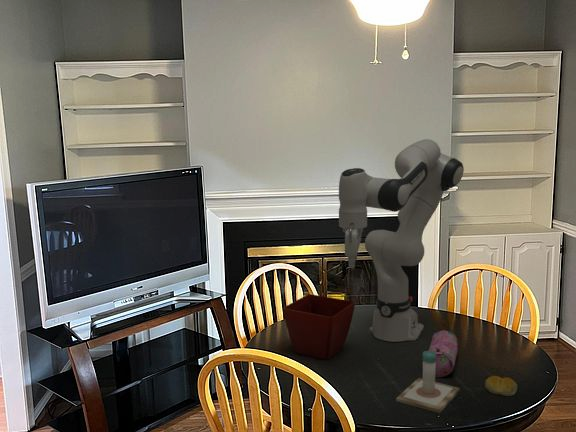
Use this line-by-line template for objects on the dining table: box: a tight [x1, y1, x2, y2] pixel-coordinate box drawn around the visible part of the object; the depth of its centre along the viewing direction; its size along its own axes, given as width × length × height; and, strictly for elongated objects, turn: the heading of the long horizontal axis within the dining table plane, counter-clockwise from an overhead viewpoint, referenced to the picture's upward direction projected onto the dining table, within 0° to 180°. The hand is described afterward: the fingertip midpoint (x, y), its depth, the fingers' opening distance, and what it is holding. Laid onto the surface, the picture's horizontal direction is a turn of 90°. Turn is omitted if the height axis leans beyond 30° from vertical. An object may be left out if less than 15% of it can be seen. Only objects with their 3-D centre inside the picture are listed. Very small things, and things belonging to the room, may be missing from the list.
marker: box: [421, 350, 436, 395], centre depth 177 cm, size 4×4×12 cm
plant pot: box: [282, 293, 356, 360], centre depth 212 cm, size 19×19×17 cm
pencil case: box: [428, 329, 459, 378], centre depth 199 cm, size 21×9×9 cm, turn 160°
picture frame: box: [395, 377, 461, 414], centre depth 178 cm, size 16×13×1 cm
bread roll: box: [484, 375, 518, 397], centre depth 181 cm, size 8×9×4 cm
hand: (352, 263), depth 192 cm, fingers open, 8 cm apart
